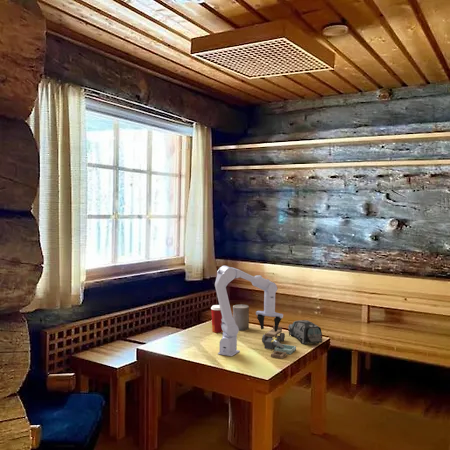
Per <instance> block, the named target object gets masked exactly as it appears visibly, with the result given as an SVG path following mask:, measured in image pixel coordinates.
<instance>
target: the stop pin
mask: <svg viewBox="0 0 450 450" xmlns="http://www.w3.org/2000/svg"><path fill="white" fill-rule="evenodd" d="M273 344H274V345H276V347H278V348H279V349H284V348H285V347H284V346H283V345H282V344H283V343H281V342H278V341H277V340H274V342H273Z"/></svg>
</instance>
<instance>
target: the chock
mask: <svg viewBox="0 0 450 450" xmlns="http://www.w3.org/2000/svg"><path fill="white" fill-rule="evenodd" d="M274 338H275V337H273V338H268V339H267V340H266V341H265V343H264V346H263V347H264V349H266V350H271V351H274V350H275V347H277V346H276V345H274V344H273V342H274V340H277V338H275V339H274ZM273 349H274V350H273Z"/></svg>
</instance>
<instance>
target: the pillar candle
mask: <svg viewBox="0 0 450 450" xmlns="http://www.w3.org/2000/svg"><path fill="white" fill-rule="evenodd" d="M232 316H233V318H234V320H235V323H236V325H237V326H238V328H239V331H247V330H249V329H250V327H249V325H250V306H249V305H248V304H242V303H241V304H235V305H233V306H232Z"/></svg>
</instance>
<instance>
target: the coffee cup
mask: <svg viewBox="0 0 450 450" xmlns="http://www.w3.org/2000/svg"><path fill="white" fill-rule="evenodd" d="M210 310H211V329H212V330H211V331H212V333H214V334H221V333H223V330H222V328H221V325H222V321H221V320H222V314H221V310H220V305H219V304H213V305H212V306H211V307H210Z"/></svg>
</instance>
